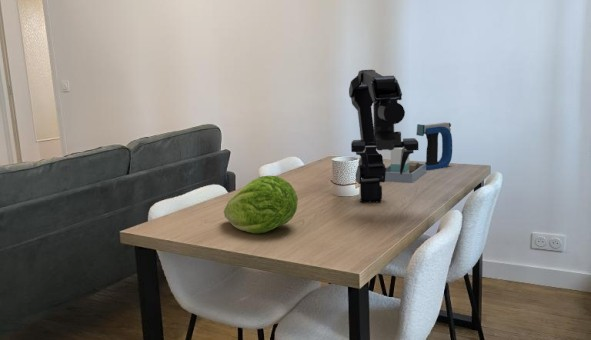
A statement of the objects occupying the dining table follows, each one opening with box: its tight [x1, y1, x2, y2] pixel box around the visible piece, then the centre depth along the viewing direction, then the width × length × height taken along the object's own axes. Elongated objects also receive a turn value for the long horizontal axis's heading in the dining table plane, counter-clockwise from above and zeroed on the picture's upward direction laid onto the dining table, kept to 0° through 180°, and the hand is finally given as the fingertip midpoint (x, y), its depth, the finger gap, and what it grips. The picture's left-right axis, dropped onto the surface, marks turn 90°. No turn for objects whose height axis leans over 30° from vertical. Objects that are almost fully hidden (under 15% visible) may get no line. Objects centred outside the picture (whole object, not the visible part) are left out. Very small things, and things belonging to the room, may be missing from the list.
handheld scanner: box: [416, 121, 453, 171], centre depth 208 cm, size 4×16×19 cm, turn 115°
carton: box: [390, 148, 410, 173], centre depth 193 cm, size 6×6×12 cm
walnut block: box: [409, 161, 420, 173], centre depth 201 cm, size 6×8×4 cm
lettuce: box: [223, 175, 299, 234], centre depth 142 cm, size 15×25×16 cm
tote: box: [385, 162, 427, 184], centre depth 197 cm, size 20×13×4 cm, turn 151°
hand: (384, 174), depth 147 cm, fingers open, 9 cm apart
